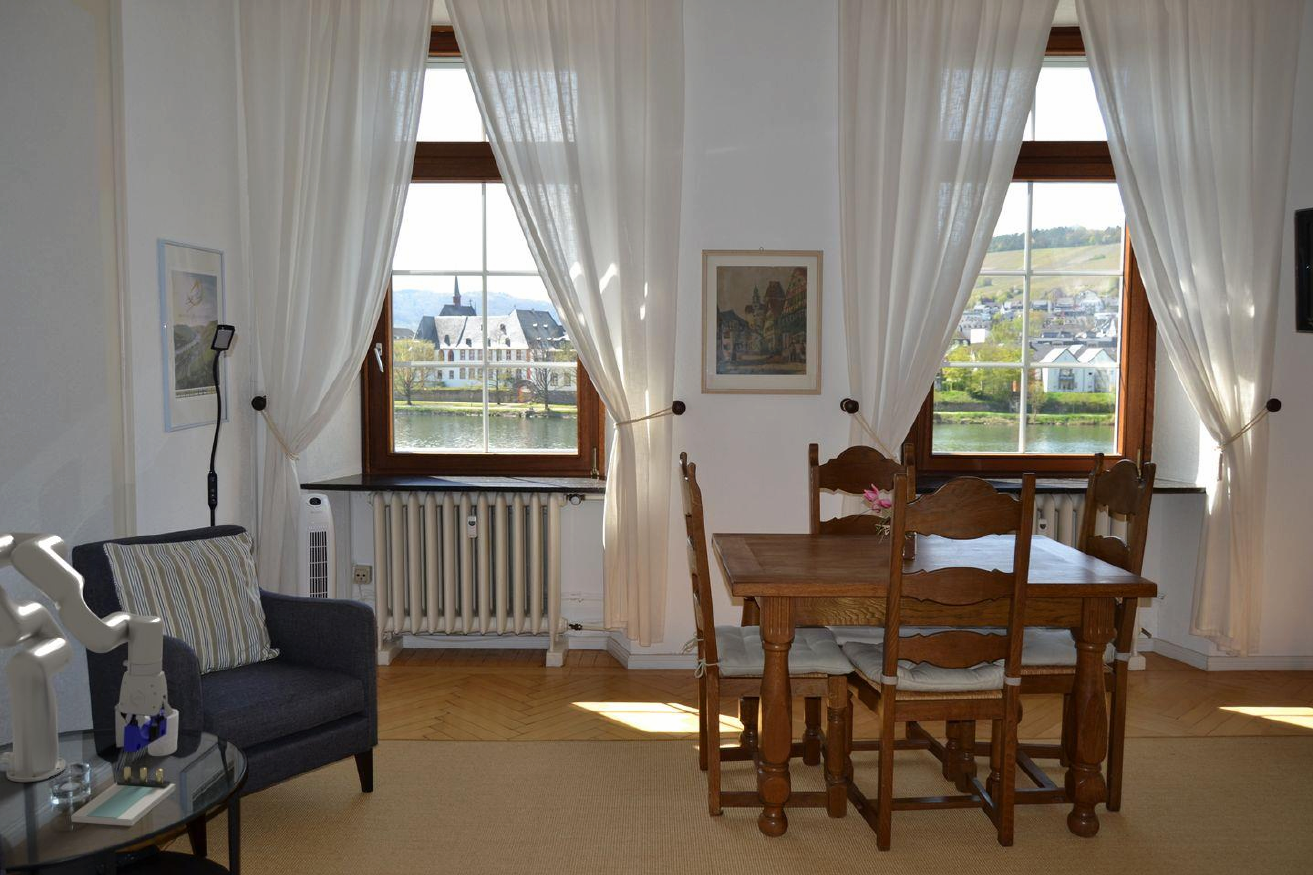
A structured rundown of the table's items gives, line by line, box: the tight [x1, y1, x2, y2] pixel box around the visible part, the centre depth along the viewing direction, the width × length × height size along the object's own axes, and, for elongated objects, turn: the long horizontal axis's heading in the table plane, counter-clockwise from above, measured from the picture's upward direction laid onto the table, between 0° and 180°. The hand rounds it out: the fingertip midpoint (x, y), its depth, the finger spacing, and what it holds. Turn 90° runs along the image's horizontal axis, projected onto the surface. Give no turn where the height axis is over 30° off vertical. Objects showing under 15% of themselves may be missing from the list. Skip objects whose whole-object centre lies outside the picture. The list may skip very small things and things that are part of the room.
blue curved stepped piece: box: [123, 710, 167, 754], centre depth 255 cm, size 12×4×6 cm, turn 171°
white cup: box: [145, 708, 179, 757], centre depth 269 cm, size 8×8×10 cm
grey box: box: [114, 709, 145, 748], centre depth 274 cm, size 4×7×10 cm, turn 120°
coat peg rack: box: [116, 765, 171, 788], centre depth 247 cm, size 12×2×4 cm, turn 86°
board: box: [70, 781, 176, 827], centre depth 239 cm, size 14×18×2 cm
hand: (143, 737), depth 255 cm, fingers closed on blue curved stepped piece, 4 cm apart
